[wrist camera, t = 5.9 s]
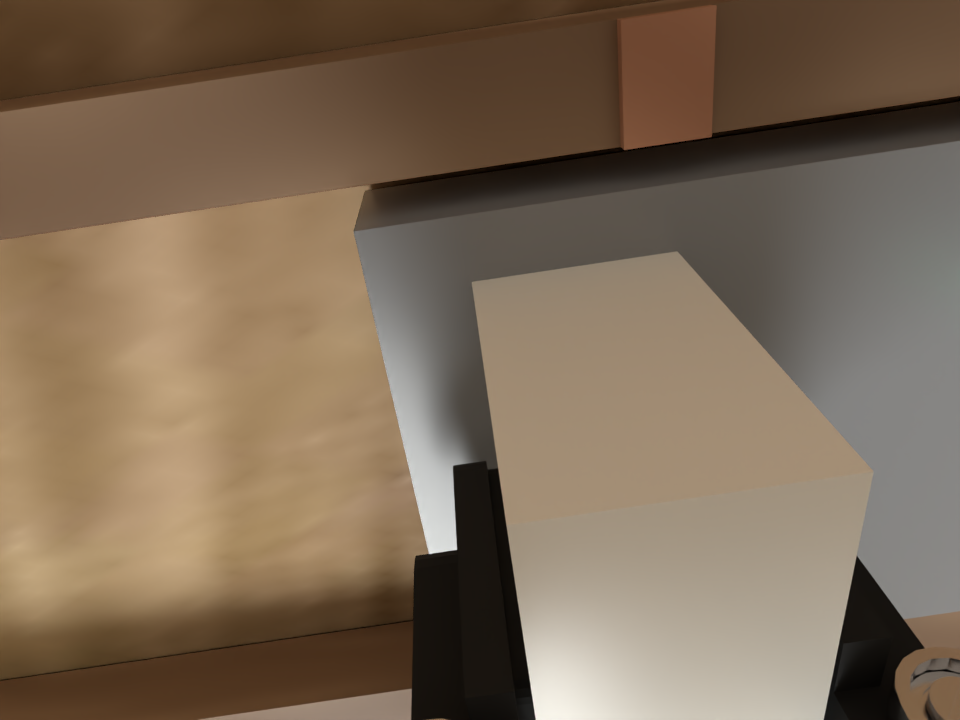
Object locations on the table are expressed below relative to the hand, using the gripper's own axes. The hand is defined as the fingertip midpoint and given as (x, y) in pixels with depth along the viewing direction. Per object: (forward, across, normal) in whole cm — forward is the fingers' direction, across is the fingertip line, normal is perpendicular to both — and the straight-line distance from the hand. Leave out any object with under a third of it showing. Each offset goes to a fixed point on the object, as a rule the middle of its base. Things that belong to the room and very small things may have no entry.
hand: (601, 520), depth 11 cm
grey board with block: (+3, -8, 0) cm, 8 cm away
